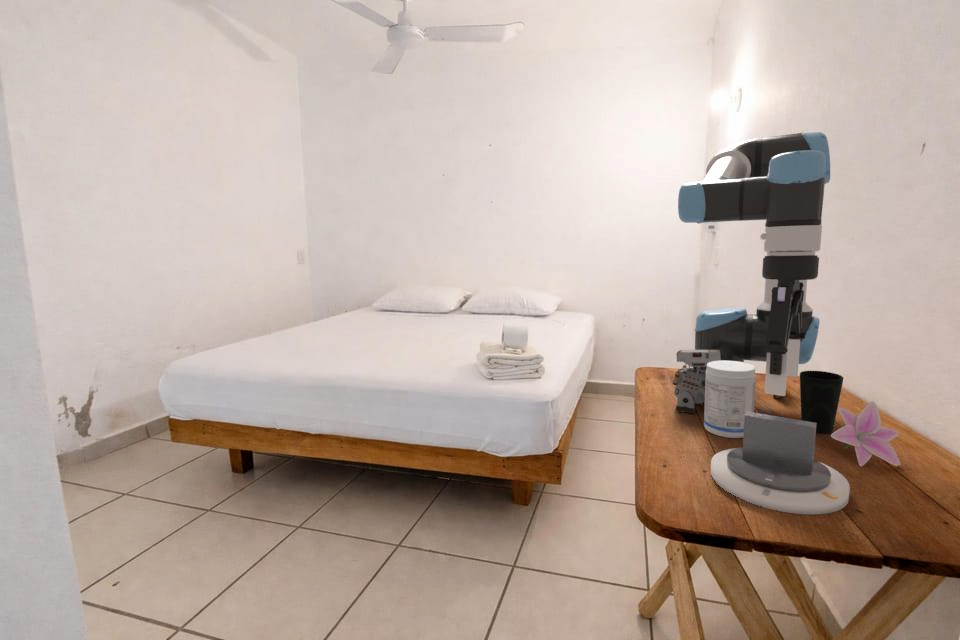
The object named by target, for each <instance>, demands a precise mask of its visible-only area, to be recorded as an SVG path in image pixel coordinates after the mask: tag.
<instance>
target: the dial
mask: <svg viewBox="0 0 960 640" xmlns="http://www.w3.org/2000/svg"><path fill="white" fill-rule="evenodd" d="M816 424H817V423H814V422H808V421H802V420H801V419H795V418H789V417H783V416H777V415H771V414H766V413H760V412H755V411H754V412H749V411H748V412H747V413H746V414H745V418H744V436H743V439H742V447H736V448H737V449H734V450H732V451H730V452H729V453H728V455H727V465H728V467H729V468H730V470H731V471H733V472H734V473H735V474H737V475H738V476H740V477H742V478H743V479H746V480H748V481H750V482H753V483H755V484H758V485H761V486H765V487H769V488H773V489H778V490H784V491H793V492H811V491H818V490H821V489H824V488H826V487H827V486H828V485H829V484H830V481H831V473H830V471H829V469H828V468H827V467H826V466H824V465H823V464H824V463H823V462H821V463H820V461H819V462H818V460H816V459H815V450H816V449H815V448H816V434H817V433H816ZM822 463H823V464H822Z"/></svg>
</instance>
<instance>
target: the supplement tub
mask: <svg viewBox="0 0 960 640" xmlns="http://www.w3.org/2000/svg"><path fill="white" fill-rule="evenodd" d="M756 378H757V376H756V367H755V366H754V365H752V364H750V363H748V362H745V361H744V362H738V361H726V360H721V361H712V362H709V363H707V369H706V378H705V402H704V411H703V412H704V414H703V416H704V417H703V419H704V420H703V427H704V429H705V430H706V431H708V433H711V434H713V435H715V436H718V437H723V438H727V439H742V438H743V436H744V418H745V414H746V413H747V412H748V411H749V412H755V399H756V398H755V397H756V396H755V395H756Z"/></svg>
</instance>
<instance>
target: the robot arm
mask: <svg viewBox="0 0 960 640" xmlns="http://www.w3.org/2000/svg"><path fill="white" fill-rule="evenodd" d="M829 145H830V144H829V141H828V137H827V135H826V134H825V133H823V132H821V131H815V132H814V131H813V132H803V131H801V132H797V133H790V134H782V135H775V136H767V137H761V138H750V139H747V140H743V141H740V142H736V143H735V144H732V145H730V146H728V147H726V148H724V149H722V150H720V151H719V152H717V154H715V155H714V156H713V157H712V158H711V159H710V160H709V162H708V164H707V167H706V171H705V176H704V177H703V179H702V180H701V181H698V180H696V181H692V182H688V183H683V184H682V185H681V186H680V188H679V191H678V198H677V202H678V203H677V211H678V217H679V220H680V221H681V222H682V223H689V224H690V223H693V224H694V223H696V224H697V225H698V224H702V223H704V224H705V223H719V222H721V223H722V222H737V221H739V222H742V221H765V224H764V225H765V229H764V230H765V231H764V232H765V233H761V235H760V239H761V240H762V241H763V240H764V246H763V248H764V249H763V251H764V252H765V253H766V255H764V257H763V258H762V269H761V271H762V273H761V275H762V278H763V279H764V280H765V282H764V283H765V284H764V296H763V297H764V299H763V301H762V303H760V304H759V305H758V306H757V307H756V313H755V314H748V311H747V309H746V308H744V307H724V308H715V309H710V310H709V309H708V310H704V311H701V312H700V313H699V314H697V316H696V320H695V328H694V332H695V334H694V335H695V336H694V339H695V340H694V350H715V349H716V350H720V354H721V355H722V359H721V360H726V361H738V362H744V363H745V361H752V362H763V363H764V362H766V363H765V380H764V391H763V392H764V394H767V395H772V396H773V395H780V396H782V397H785V396H787V395H786V392H787V379H788V378H787V377H793V378H798V376H799V365H805V364H807V363H809V362H810V361H811V359H812V356H813V353H814V351H815V347H816V343H817V339H818V335H819V329H820V328H819V327H820V318H819V317H817V316H815V315H814V316H813V311H814V310H813V307H811V306H810V305H809V304H808V303H807V299H806V298H807V287H808V280H810V281H812V280H816V279H817V278H818V276H819V264H820V263H819V262H820V257H818V255H816V252H819V251H820V250H821V244H822V232H823V230H822V229H823V225H822V221H823V220H822V214H823V205H824V196H825V195H824V194H825V185H826V184H828V183H830V180H831V155H830V147H829ZM706 369H707V367H704V368H703V371H705V372H706Z"/></svg>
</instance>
